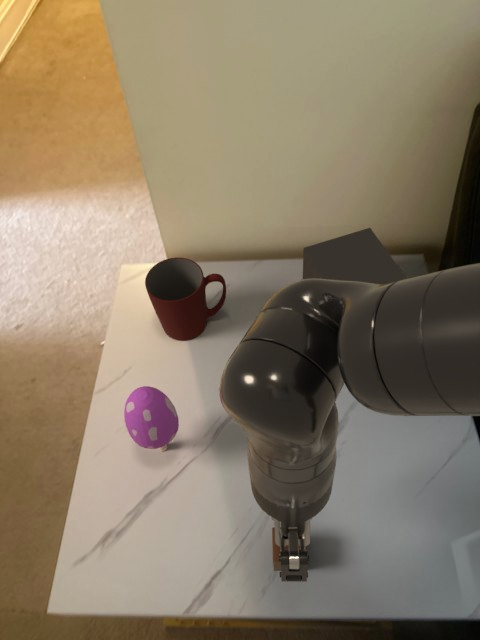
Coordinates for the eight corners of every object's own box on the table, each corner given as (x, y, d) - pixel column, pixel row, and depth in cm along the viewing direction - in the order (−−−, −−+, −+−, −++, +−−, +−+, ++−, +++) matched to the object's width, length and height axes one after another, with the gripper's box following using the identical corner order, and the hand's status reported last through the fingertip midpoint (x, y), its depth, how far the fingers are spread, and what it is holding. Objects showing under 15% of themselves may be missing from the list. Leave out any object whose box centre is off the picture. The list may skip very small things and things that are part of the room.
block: (304, 536, 71) (305, 526, 68) (306, 570, 69) (307, 561, 66) (272, 537, 72) (272, 527, 68) (273, 570, 69) (272, 561, 66)
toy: (132, 463, 79) (104, 412, 67) (150, 421, 83) (127, 366, 71) (176, 475, 77) (156, 425, 66) (193, 432, 81) (176, 378, 69)
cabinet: (402, 325, 90) (413, 286, 82) (336, 348, 88) (340, 310, 81) (363, 267, 98) (370, 227, 90) (302, 287, 96) (303, 247, 89)
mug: (227, 296, 96) (221, 251, 88) (233, 338, 91) (227, 294, 82) (157, 306, 96) (144, 261, 87) (159, 348, 91) (145, 305, 82)
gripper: (342, 548, 45) (330, 592, 57) (328, 391, 53) (320, 460, 66) (248, 549, 45) (257, 592, 58) (248, 393, 54) (256, 461, 66)
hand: (290, 522), depth 62 cm, fingers open, 8 cm apart
